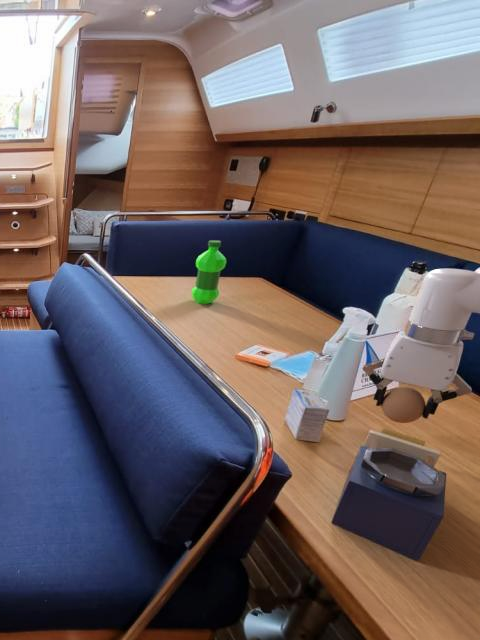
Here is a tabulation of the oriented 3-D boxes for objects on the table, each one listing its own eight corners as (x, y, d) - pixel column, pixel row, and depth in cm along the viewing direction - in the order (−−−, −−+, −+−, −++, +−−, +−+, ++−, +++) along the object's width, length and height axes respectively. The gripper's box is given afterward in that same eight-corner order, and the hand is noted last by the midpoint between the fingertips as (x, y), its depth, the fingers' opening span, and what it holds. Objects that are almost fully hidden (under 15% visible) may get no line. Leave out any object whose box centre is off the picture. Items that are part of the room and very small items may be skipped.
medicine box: (318, 443, 90) (331, 410, 87) (294, 439, 92) (305, 407, 88) (306, 422, 97) (317, 391, 93) (283, 419, 98) (293, 388, 95)
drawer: (361, 447, 87) (374, 416, 84) (425, 468, 81) (442, 436, 78) (346, 491, 77) (361, 458, 73) (419, 520, 70) (438, 485, 67)
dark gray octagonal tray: (364, 450, 74) (369, 441, 73) (439, 476, 68) (445, 466, 67) (356, 477, 68) (360, 467, 67) (437, 507, 62) (443, 497, 61)
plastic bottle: (211, 297, 176) (223, 238, 166) (221, 306, 167) (234, 244, 156) (186, 297, 178) (196, 239, 168) (194, 306, 168) (205, 244, 158)
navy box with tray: (344, 484, 79) (361, 444, 75) (423, 515, 72) (446, 472, 68) (331, 523, 72) (349, 480, 68) (417, 561, 65) (443, 516, 61)
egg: (369, 411, 93) (380, 379, 90) (403, 413, 92) (416, 380, 89) (389, 428, 88) (402, 395, 84) (426, 430, 86) (441, 396, 83)
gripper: (500, 337, 78) (462, 416, 85) (375, 317, 90) (350, 389, 97) (502, 350, 73) (461, 433, 80) (370, 328, 85) (345, 402, 92)
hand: (401, 408), depth 89 cm, fingers closed on egg, 6 cm apart
